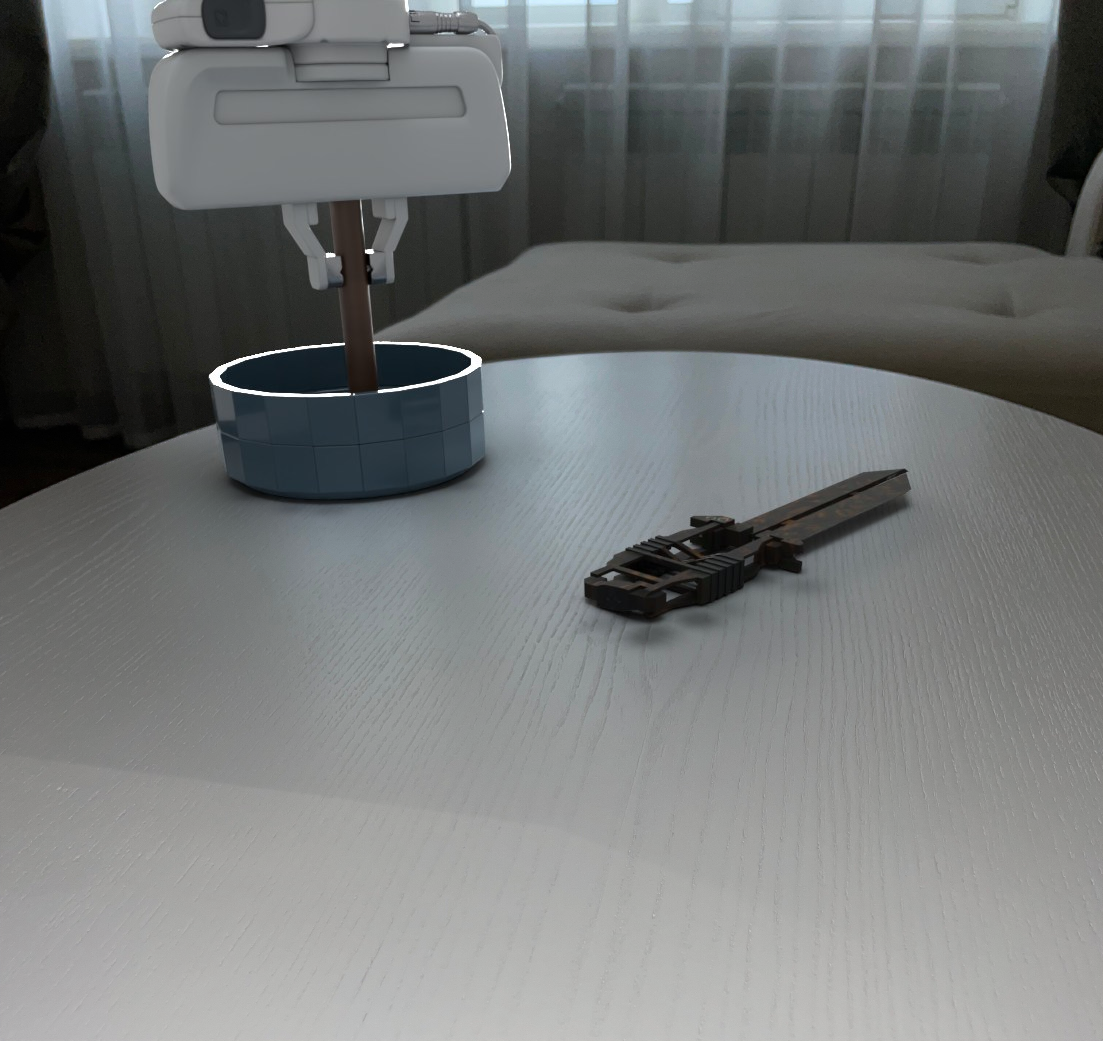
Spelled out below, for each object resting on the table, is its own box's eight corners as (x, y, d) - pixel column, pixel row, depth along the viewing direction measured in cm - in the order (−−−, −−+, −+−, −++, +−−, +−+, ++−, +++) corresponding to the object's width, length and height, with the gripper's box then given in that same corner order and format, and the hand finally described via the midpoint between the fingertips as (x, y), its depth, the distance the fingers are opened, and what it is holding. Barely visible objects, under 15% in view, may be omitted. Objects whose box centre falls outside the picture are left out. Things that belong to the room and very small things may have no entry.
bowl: (174, 495, 68) (155, 391, 65) (299, 427, 81) (288, 339, 78) (432, 511, 64) (423, 401, 61) (518, 437, 77) (514, 344, 74)
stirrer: (324, 430, 71) (289, 136, 63) (351, 414, 74) (321, 134, 66) (384, 433, 70) (356, 135, 62) (409, 417, 73) (385, 133, 65)
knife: (884, 478, 67) (886, 454, 66) (983, 501, 63) (987, 476, 62) (553, 589, 53) (552, 560, 52) (652, 629, 49) (652, 598, 48)
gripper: (475, 15, 68) (487, 266, 75) (118, 11, 60) (168, 295, 66) (525, 6, 63) (533, 275, 70) (144, 1, 55) (195, 308, 61)
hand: (352, 285), depth 68 cm, fingers closed on stirrer, 2 cm apart
